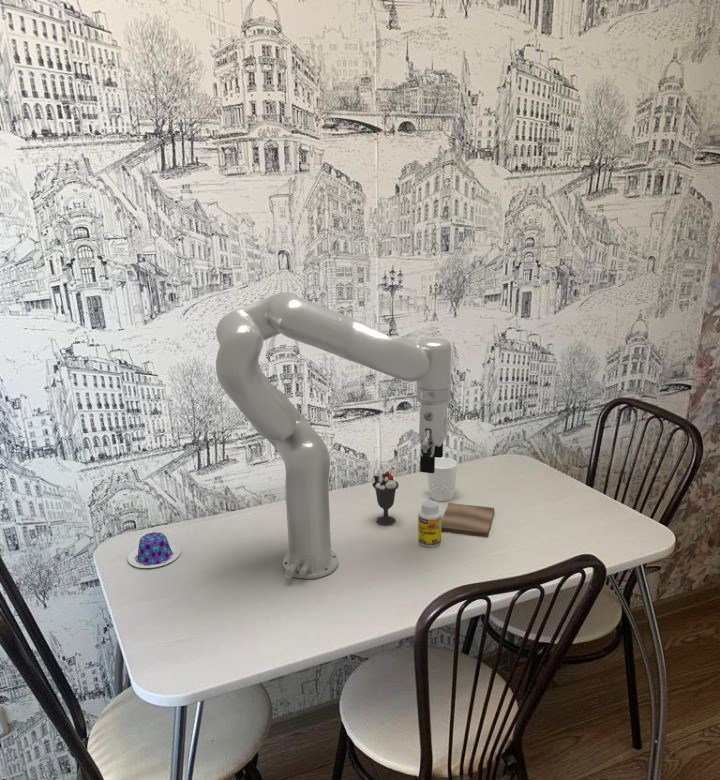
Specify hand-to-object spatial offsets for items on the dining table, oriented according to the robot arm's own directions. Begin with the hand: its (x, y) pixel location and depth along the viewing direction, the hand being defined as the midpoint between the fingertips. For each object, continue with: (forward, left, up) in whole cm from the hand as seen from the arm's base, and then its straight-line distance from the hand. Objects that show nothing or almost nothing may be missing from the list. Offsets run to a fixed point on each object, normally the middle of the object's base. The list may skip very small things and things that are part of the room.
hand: (431, 464), depth 158 cm
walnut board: (+13, -7, -20) cm, 25 cm away
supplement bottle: (0, 0, -20) cm, 20 cm away
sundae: (+8, +13, -20) cm, 26 cm away
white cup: (+26, +2, -20) cm, 33 cm away
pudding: (-23, +61, -21) cm, 69 cm away
